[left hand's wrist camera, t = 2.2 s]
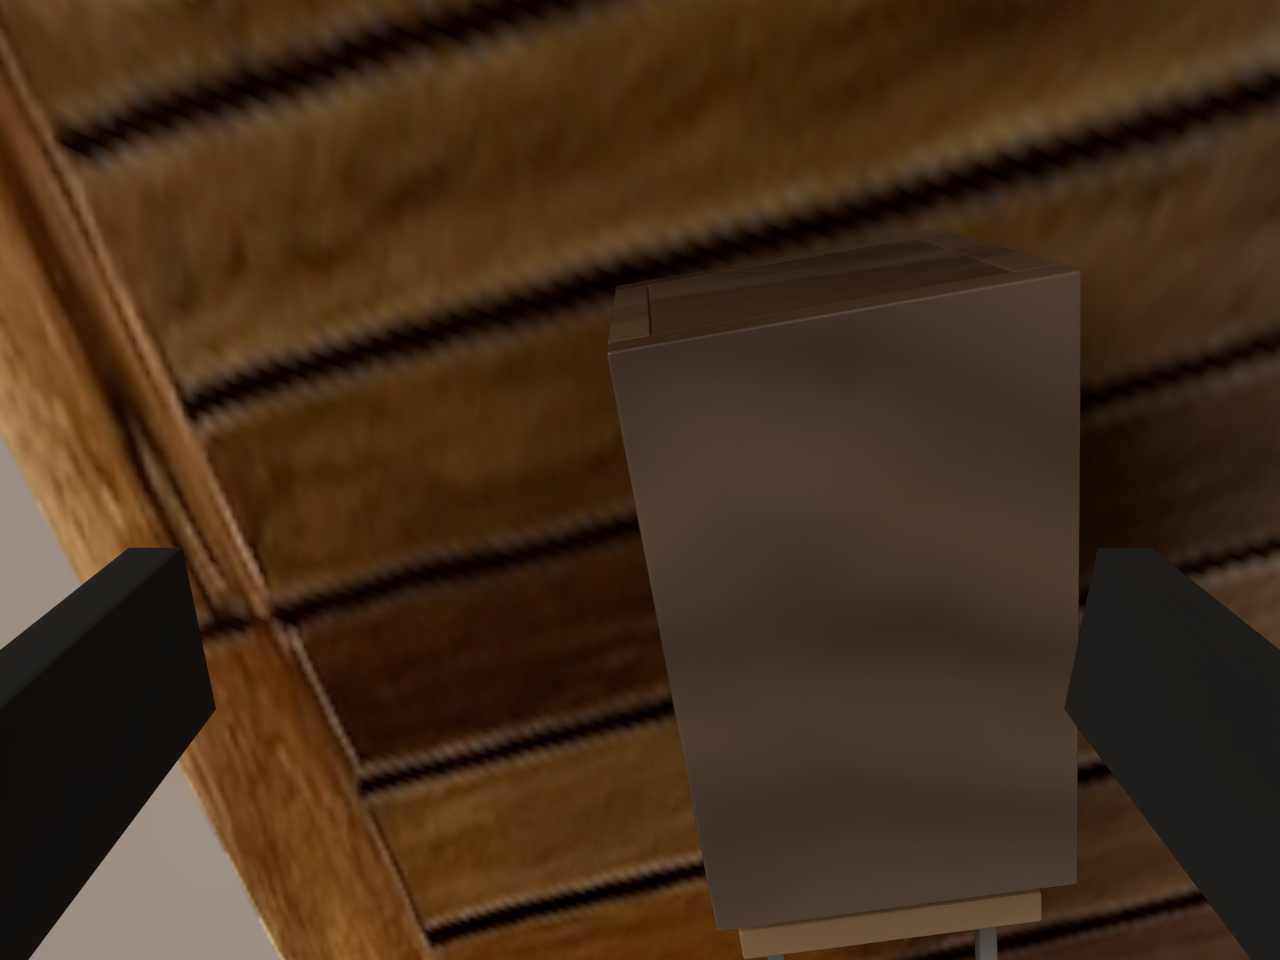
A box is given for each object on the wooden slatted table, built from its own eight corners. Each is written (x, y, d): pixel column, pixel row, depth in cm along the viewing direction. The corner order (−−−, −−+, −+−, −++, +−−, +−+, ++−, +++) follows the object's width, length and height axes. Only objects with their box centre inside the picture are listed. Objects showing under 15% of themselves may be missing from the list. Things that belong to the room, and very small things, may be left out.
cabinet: (961, 688, 35) (1078, 884, 25) (696, 727, 35) (716, 932, 26) (938, 228, 28) (1082, 269, 19) (615, 285, 29) (605, 351, 20)
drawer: (963, 876, 37) (1044, 1056, 29) (741, 905, 37) (766, 1089, 30) (935, 354, 29) (1037, 425, 21) (653, 402, 29) (658, 487, 22)
